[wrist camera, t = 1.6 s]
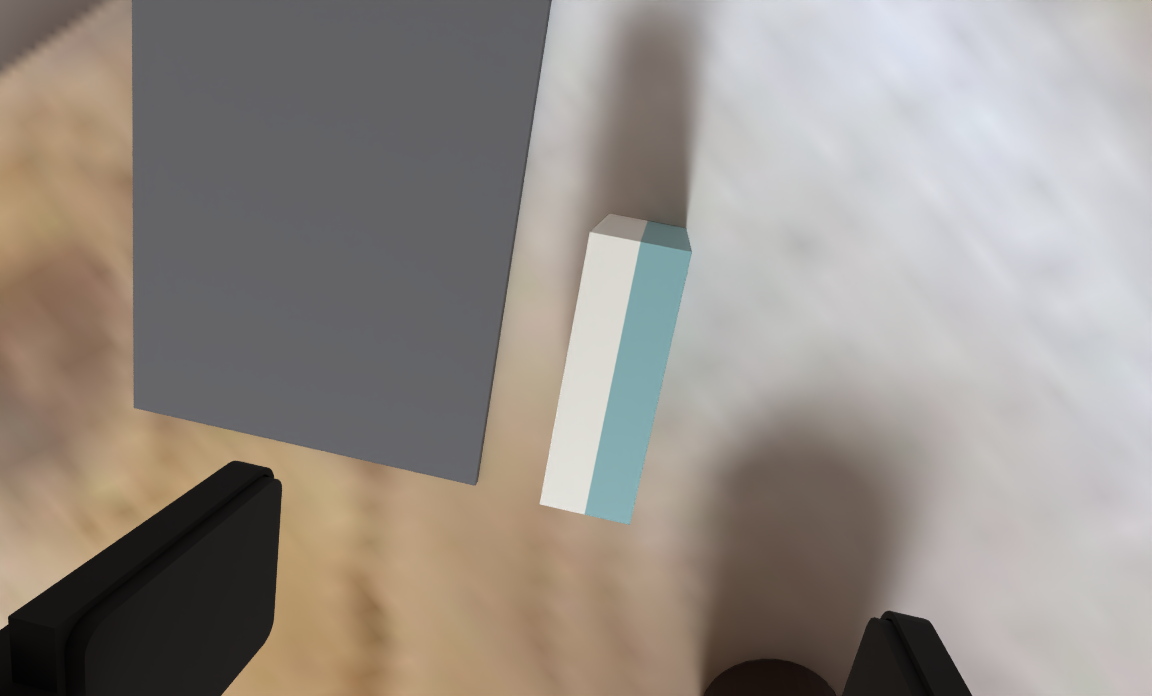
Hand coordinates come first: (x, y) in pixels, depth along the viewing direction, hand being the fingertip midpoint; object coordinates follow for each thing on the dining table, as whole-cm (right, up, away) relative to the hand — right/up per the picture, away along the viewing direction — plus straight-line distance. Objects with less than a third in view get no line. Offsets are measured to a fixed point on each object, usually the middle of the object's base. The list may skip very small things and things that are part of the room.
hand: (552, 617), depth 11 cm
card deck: (+2, +5, +17) cm, 18 cm away
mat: (-10, +9, +18) cm, 22 cm away
